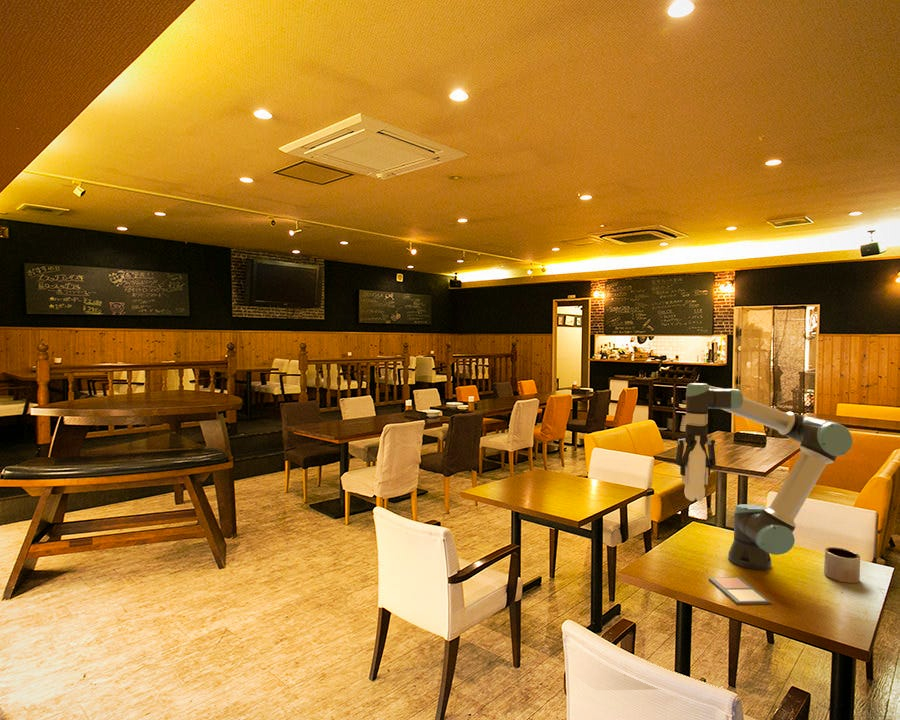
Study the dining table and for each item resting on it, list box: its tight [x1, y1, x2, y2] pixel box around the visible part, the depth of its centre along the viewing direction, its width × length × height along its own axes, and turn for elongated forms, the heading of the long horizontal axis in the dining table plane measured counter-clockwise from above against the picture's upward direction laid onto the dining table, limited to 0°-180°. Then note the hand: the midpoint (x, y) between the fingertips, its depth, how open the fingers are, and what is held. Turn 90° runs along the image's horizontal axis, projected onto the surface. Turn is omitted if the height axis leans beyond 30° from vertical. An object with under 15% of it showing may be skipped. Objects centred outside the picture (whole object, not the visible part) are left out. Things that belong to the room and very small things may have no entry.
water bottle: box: [683, 436, 706, 502], centre depth 198 cm, size 7×7×25 cm
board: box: [708, 576, 772, 605], centre depth 186 cm, size 12×18×1 cm, turn 2°
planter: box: [823, 546, 861, 584], centre depth 197 cm, size 11×11×10 cm
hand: (694, 483), depth 198 cm, fingers closed on water bottle, 7 cm apart
